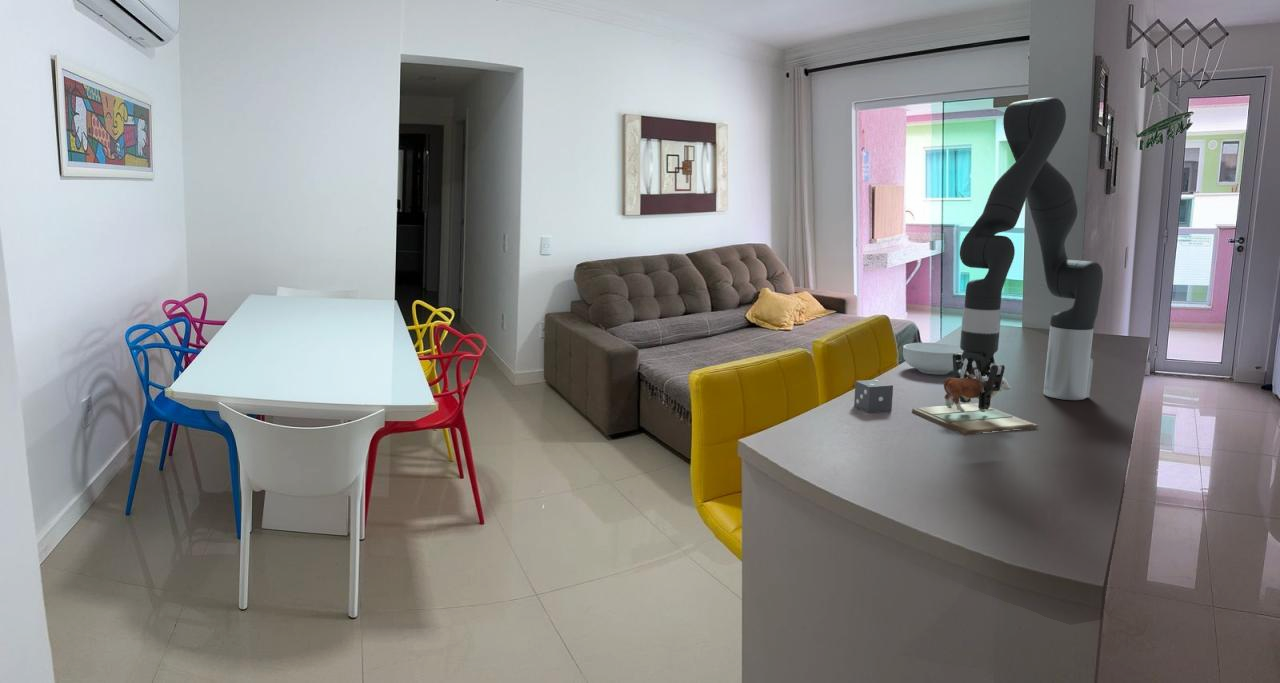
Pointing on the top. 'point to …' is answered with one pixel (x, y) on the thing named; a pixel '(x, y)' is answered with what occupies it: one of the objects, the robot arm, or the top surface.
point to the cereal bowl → (931, 357)
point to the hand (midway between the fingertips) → (974, 405)
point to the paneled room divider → (973, 419)
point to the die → (873, 396)
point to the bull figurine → (966, 390)
